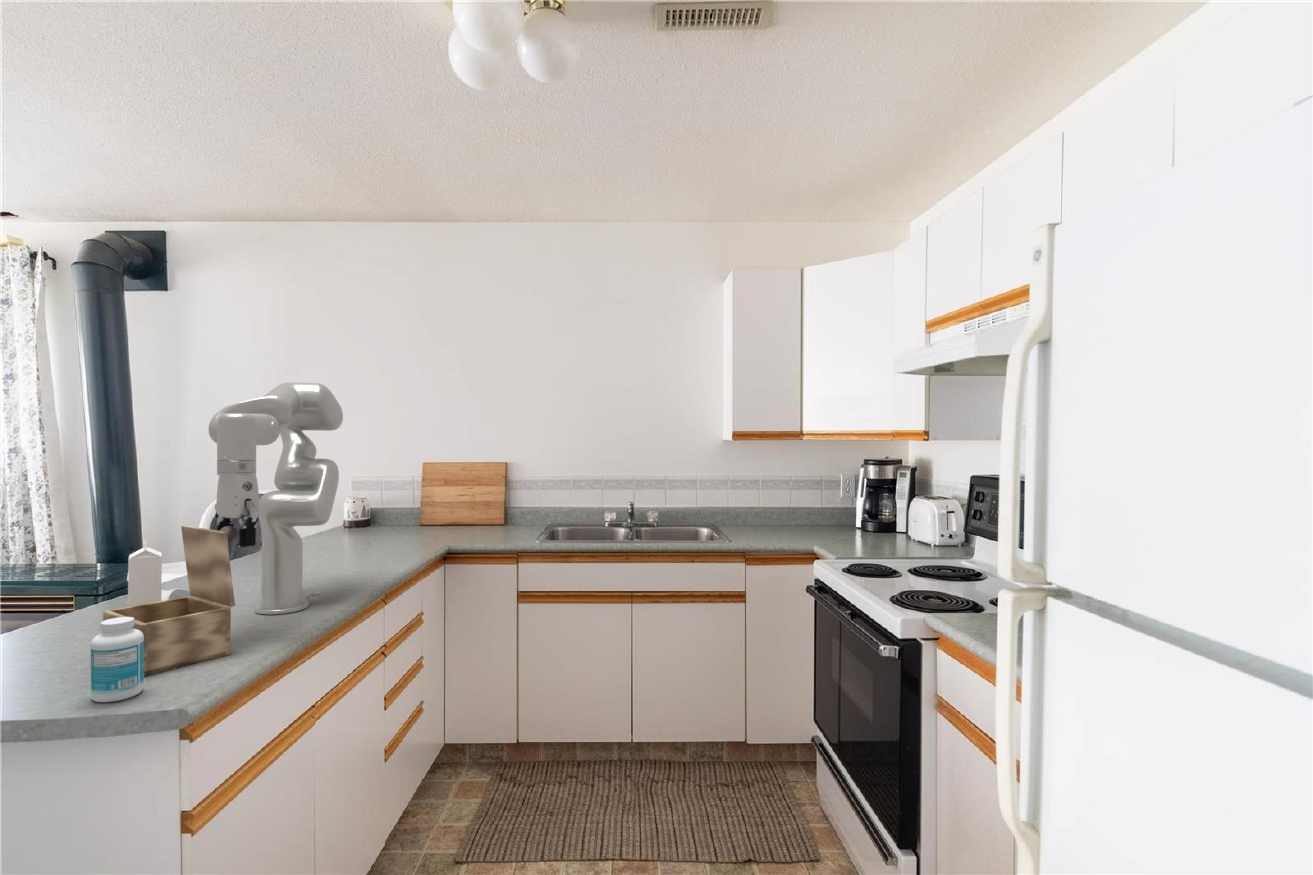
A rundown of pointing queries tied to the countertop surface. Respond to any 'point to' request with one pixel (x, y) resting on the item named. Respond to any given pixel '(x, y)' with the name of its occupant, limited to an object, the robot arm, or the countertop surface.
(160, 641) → the wooden box
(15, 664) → the countertop surface
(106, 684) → the pill bottle
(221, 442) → the robot arm
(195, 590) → the flap
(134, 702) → the countertop surface
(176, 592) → the spoon rest
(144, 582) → the milk
